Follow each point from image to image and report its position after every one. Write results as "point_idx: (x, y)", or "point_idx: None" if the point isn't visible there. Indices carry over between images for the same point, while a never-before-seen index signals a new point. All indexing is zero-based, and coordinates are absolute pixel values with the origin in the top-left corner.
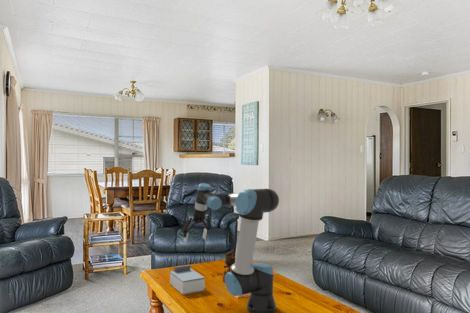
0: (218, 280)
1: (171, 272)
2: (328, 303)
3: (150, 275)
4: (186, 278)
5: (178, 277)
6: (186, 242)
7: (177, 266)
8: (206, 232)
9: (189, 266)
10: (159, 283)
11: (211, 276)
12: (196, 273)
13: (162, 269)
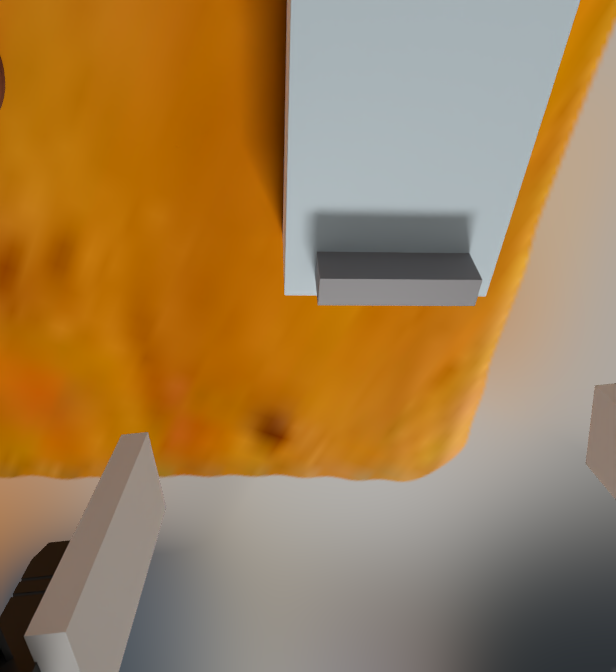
0: (48, 128)
1: (492, 271)
2: None
3: (458, 417)
4: (497, 25)
5: (540, 106)
6: (604, 386)
7: (442, 303)
8: (75, 565)
9: (328, 273)
10: (502, 284)
11: (83, 245)
12: (310, 132)
13: (345, 467)
